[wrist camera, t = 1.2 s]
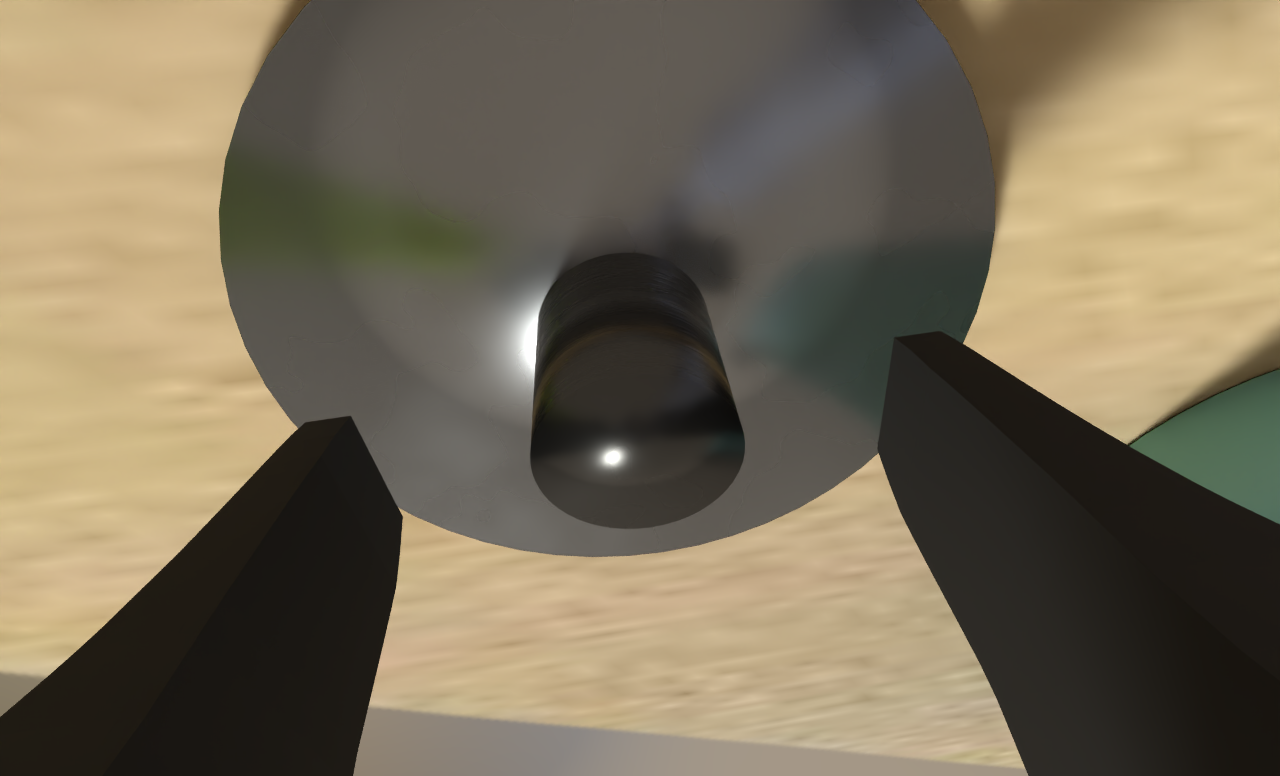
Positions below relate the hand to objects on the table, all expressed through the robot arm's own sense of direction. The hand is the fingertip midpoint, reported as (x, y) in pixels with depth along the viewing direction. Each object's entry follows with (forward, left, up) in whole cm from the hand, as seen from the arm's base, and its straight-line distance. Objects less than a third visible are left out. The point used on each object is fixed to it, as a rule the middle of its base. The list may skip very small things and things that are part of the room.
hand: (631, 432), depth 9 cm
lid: (0, 0, -3) cm, 3 cm away
